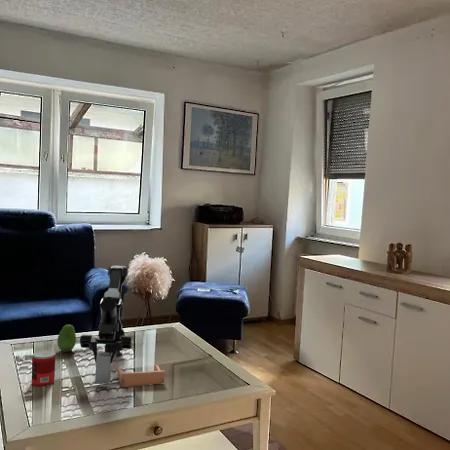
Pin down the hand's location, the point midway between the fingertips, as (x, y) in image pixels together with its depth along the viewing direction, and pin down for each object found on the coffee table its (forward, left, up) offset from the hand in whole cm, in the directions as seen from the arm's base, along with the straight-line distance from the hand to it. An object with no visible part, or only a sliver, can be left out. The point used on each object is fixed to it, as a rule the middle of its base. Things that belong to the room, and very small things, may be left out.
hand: (103, 363), depth 170 cm
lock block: (-1, -1, -7) cm, 7 cm away
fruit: (-18, -40, -9) cm, 45 cm away
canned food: (+10, -20, -9) cm, 24 cm away
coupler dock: (-15, +5, -9) cm, 18 cm away
